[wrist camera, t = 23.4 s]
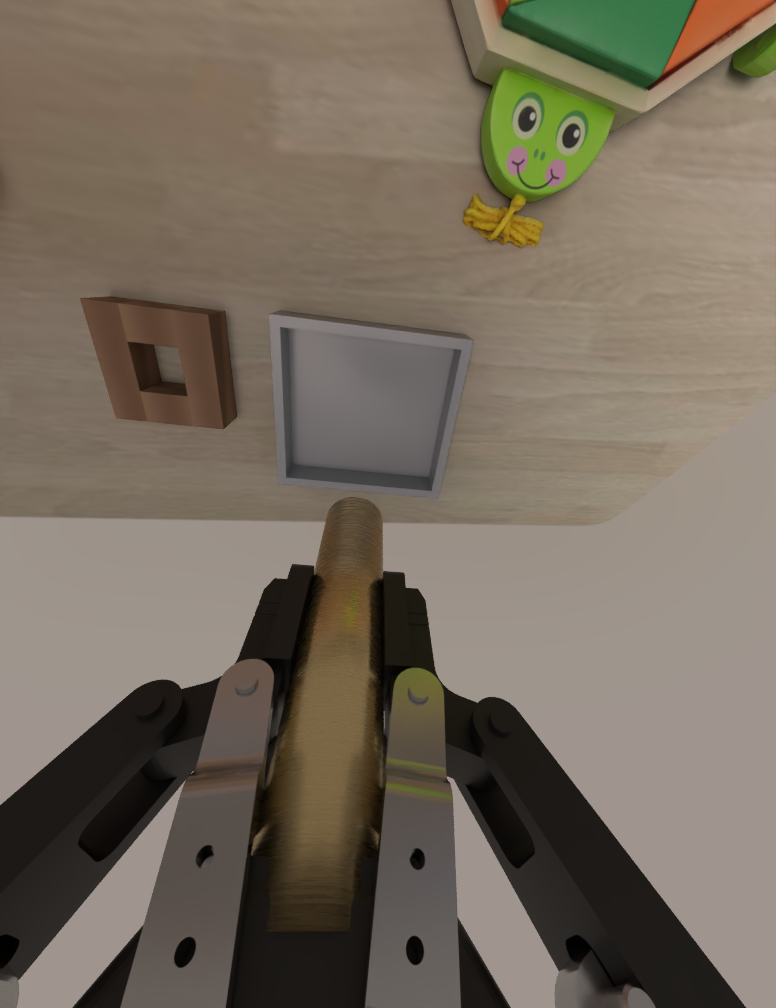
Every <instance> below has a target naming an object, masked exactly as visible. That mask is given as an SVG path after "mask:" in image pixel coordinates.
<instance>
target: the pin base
mask: <svg viewBox="0 0 776 1008" xmlns="http://www.w3.org/2000/svg"><path fill="white" fill-rule="evenodd" d="M80 300H81V303H82V306H83V310H84V313H85V316H86V320H87V323H88V326H89V330H90V333H91V336H92V340H93V343H94V346H95V350H96V353H97V356H98V360H99V363H100V366H101V369H102V373H103V376H104V379H105V383H106V386H107V389H108V393H109V396H110V399H111V403H112V406H113V409H114V413H115V416H116V418H118V419H128V420H138V421H148V422H157V423H167V424H177V425H187V426H196V427H206V428H216V429H224V428H225V427H227V426H228V425H229V424H230V423H231V422H232V421H233V420H234V419H235V418H236V417H237V415H236V406H235V397H234V388H233V379H232V371H231V362H230V353H229V344H228V335H227V327H226V318H225V311H219V310H211V309H204V308H196V307H188V306H180V305H172V304H164V303H157V302H149V301H141V300H133V299H125V298H118V297H95V298H80ZM153 345H162V346H170V347H178V348H179V352H180V357H181V362H182V368H183V373H184V379H185V384H179V383H170V382H161V378H160V373H159V369H158V364H157V360H156V355H155V350H154V346H153Z"/></svg>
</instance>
